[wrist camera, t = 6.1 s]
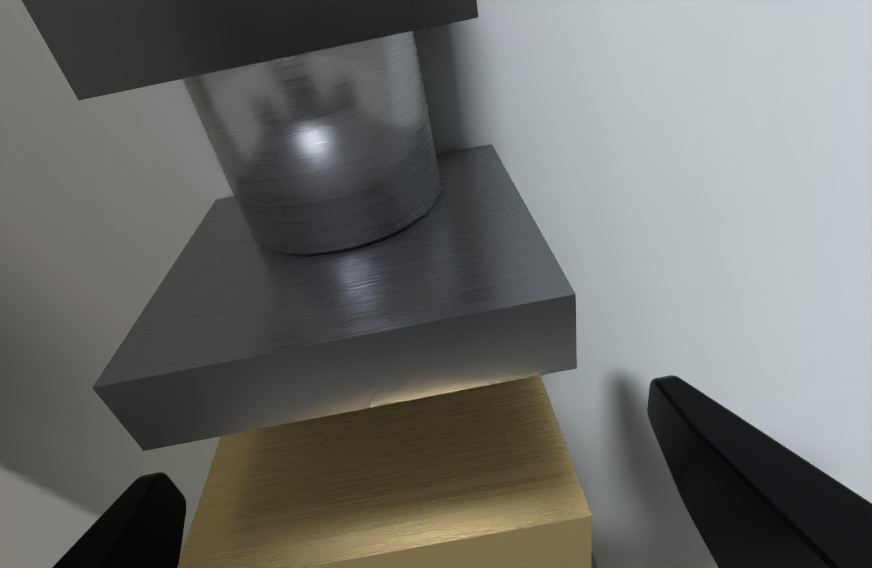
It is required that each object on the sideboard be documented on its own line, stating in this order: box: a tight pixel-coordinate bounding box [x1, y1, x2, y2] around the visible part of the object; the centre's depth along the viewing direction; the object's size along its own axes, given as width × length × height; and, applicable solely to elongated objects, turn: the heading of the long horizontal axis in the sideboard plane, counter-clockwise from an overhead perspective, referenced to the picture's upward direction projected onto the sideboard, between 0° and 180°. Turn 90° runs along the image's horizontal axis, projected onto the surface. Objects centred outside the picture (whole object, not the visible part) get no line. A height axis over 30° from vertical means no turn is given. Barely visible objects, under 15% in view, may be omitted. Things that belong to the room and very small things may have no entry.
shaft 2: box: [22, 0, 577, 451], centre depth 6 cm, size 5×5×4 cm
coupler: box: [177, 375, 592, 568], centre depth 9 cm, size 4×4×6 cm
